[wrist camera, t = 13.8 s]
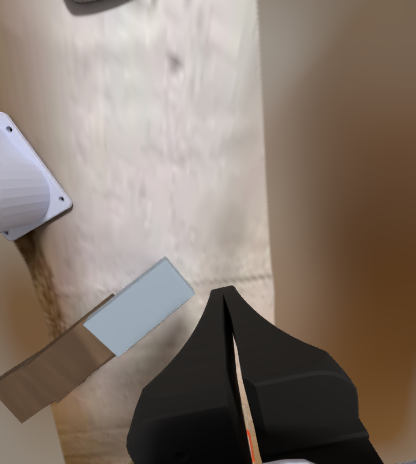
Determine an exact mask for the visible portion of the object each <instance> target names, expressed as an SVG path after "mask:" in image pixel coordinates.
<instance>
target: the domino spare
mask: <svg viewBox="0 0 416 464" xmlns="http://www.w3.org/2000/svg"><path fill="white" fill-rule="evenodd" d="M194 294H195V293H194V291H193V288H192V287H191V286H190V285H189V284H188V282H187V281H186V280H185V279H184V278H183V276H182V275H181V274H180V273H179V272H178V270H177V269H176V268H175V267H174V266H173V264H172V263H171V262H170V261H169V260H168V259H167V257H166V256H165V257H164V258H162V259H161V260H160V261H159V262H157V263H156V264H155V265H153V266H152V267H151V268H150V269H148V270H147V271H146V272H145V273H143V274H142V275H141V276H139V277H138V278H137V279H136V280H134V281H133V282H132V283H130V284H129V285H128V286H127V287H125V288H124V289H123V290H121V291H120V292H119V293H118V294H116V295H115V296H114V297H113V298H111V299H110V300H109V301H107V302H106V303H105V304H104V305H102V306H101V307H100V308H98V309H97V310H96V311H95V312H93V313H92V314H91V315H90V316H88V318H87V319H86V321H85V323H84V324H83V325H84V326H85V327H86V328H87V329H88V330H89V331H90V332H91V333H92V334H93V335H95V336H96V337H97V338H98V339H99V340H100V341H101V342H102V343H103V344H104V345H105V346H107V347H108V348H109V349H110V350H111V351H112V352H113V353H114V354H115V355H116V356H117V357H119V356H121V355H122V354H123V353H124V352H125V351H127V350H128V349H129V348H130V347H131V346H133V345H134V344H135V343H136V342H137V341H139V340H140V339H141V338H142V337H144V336H145V335H146V334H147V333H148V332H150V331H151V330H152V329H153V328H154V327H156V326H157V325H158V324H159V323H160V322H162V321H163V320H164V319H165V318H166V317H168V316H169V315H170V314H171V313H173V312H174V311H175V310H176V309H177V308H179V307H180V306H181V305H182V304H183V303H185V302H186V301H187V300H188V299H189V298H191V297H192V296H193V295H194Z"/></svg>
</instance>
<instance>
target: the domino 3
mask: <svg viewBox="0 0 416 464" xmlns="http://www.w3.org/2000/svg"><path fill="white" fill-rule="evenodd" d="M39 352H40V351H39ZM37 353H38V352H37ZM37 353H36V354H37ZM36 354H34V355H33V356H35V355H36ZM33 356H31V357H30V358H28V359H26V360H25V361H23V362H22V363H20V364H19V365H17V366H15V367H14V368H12V369H11V370H9V371H8V372H6V373H4V374H3V375H2V376H0V400H1V401H2V402H3V403H4V405H5V406H6V407H7V408H8V409H9V410H10V411H11V412H12V413H13V414H14V416H15V417H16V418H17V419H18V420H19V421H20V422H21V423H23V422H25V421H26V420H27V419H29V418H30V417H32V416H33V415H34V414H36V413H37V412H38V411H40V410H41V409H43V408H44V407H45V406H47V405H48V404H50V403H51V402H52V401H54V400H53V399H52V398H51V397H49V396H48V395H47V394H46V393H44V392H43V391H42V390H41V389H39V388H38V387H37V386H36V385H34V384H33V383H32V382H30V381H29V380H28V379H27V378H25V377H24V376H23V375H22V374H20V373H19V371H20V370H21V369H22V367H23V366H24V365H25V364H26V362H27V361H28V360H30V359H31V358H32V357H33ZM115 356H116V355H115V354H113V355H112V356H110V357H109V358H108V359H107V360H106V361H105V362H104V363H103V364H101V365H100V366H99V367H101V366H102V365H104V364H105V363H106V362H108V361H109V360H110V359H112V358H113V357H115ZM99 367H98V368H99ZM98 368H97V369H98ZM97 369H96V370H97Z"/></svg>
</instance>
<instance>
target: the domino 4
mask: <svg viewBox="0 0 416 464" xmlns="http://www.w3.org/2000/svg"><path fill="white" fill-rule="evenodd" d="M114 296H115V295H114V294H111V295H110V296H109V297H108V298H106V299H105V300H104V301H103V302H101V303H100V304H99V305H98V306H96V307H95V308H94V309H93V310H91V311H90V312H89V313H87V314H86V315H85V316H84V317H82V318H81V319H80V320H79V321H77V322H76V323H75V324H74V325H72V326H71V327H70V328H69V329H67V330H66V331H65V332H64V333H62V334H61V335H60V336H59V337H57V338H56V339H55V340H54V341H52V342H51V343H50V344H49V345H47V346H46V347H45V348H43V349H42V350H41V351H40V352H38V353H37V354H36V355H35V356H33V357H32V358H31V359H30V360H28V361H27V362H26V364H25V365H24V366H23V367H22V369H21V370H20V371H19V373H20V374H22V375H23V376H24V377H25V378H27V379H28V380H29V381H30V382H32V383H33V384H34V385H36V386H37V387H38V388H39V389H41V390H42V391H43V392H44V393H46V394H47V395H48V396H49V397H51V398H52V399H53V400H54V401H56V402H57V403H59V402H60V401H61V400H62V399H63V398H65V397H66V396H67V395H68V394H69V393H70V392H71V391H72V390H73V389H75V388H76V387H77V386H78V385H79V384H80V383H81V382H82V381H84V380H85V379H86V378H87V377H88V376H89V375H90V374H91V373H93V372H94V371H95V370H96V369H97V368H98V367H99V366H100V365H101V364H103V363H104V362H105V361H106V360H107V359H108V358H109V357H110V356H112V355H113V354H114V353H113V352H112V351H111V350H110V349H109V348H108V347H107V346H105V345H104V344H103V343H102V342H101V341H100V340H99V339H98V338H97V337H96V336H95V335H93V334H92V333H91V332H90V331H89V330H88V329H87V328H86V327H85V326H84V325H83V324H84V323H85V321H86V319H87V318H88V316H90V315H91V314H92V313H93V312H95V311H96V310H97V309H98V308H100V307H101V306H102V305H104V304H105V303H106V302H107V301H109V300H110V299H111V298H113V297H114Z"/></svg>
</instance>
